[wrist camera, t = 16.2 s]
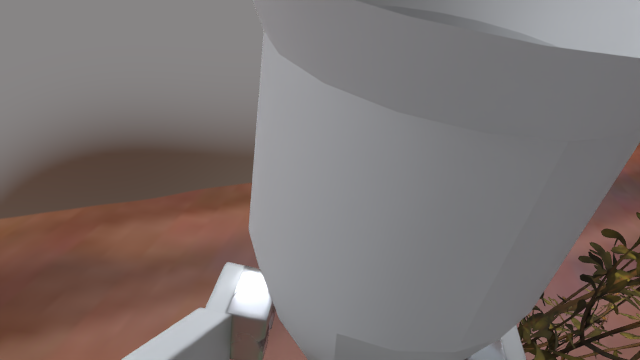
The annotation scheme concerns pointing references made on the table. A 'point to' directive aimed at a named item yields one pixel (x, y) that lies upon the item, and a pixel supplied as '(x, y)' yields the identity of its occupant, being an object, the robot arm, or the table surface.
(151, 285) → the table surface
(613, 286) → the dried plant
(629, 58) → the chalice
